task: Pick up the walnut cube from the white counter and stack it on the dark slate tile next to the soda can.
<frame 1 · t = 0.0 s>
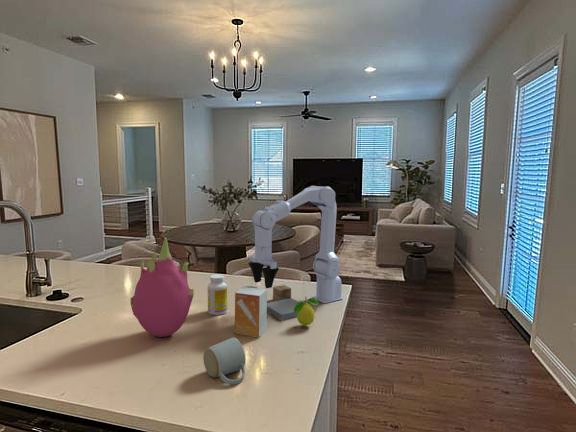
hand: (263, 284, 130), 10 cm above the worktop, tool pointing down, fingers open, 7 cm apart
supplement bottle: (217, 312, 131), on the worktop
soda can: (249, 325, 120), on the worktop, touching small box
slate tile: (286, 311, 133), on the worktop
ceramic mug: (227, 375, 91), on the worktop
small box: (250, 332, 115), on the worktop, touching soda can
pink dragon fruit: (163, 335, 112), on the worktop
lemon: (305, 326, 120), on the worktop
walnut block: (281, 300, 145), on the worktop
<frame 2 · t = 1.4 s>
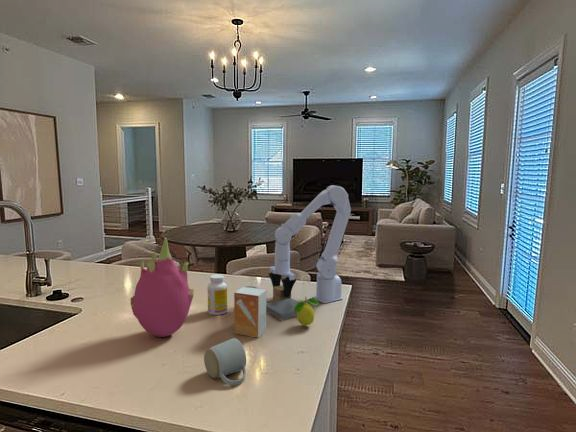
hand: (281, 293, 144), 2 cm above the worktop, tool pointing down, fingers open, 7 cm apart
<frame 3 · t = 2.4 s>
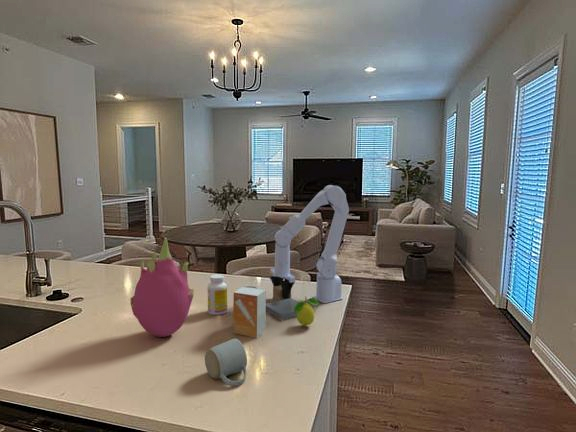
hand: (281, 296, 145), 1 cm above the worktop, tool pointing down, fingers closed on walnut block, 5 cm apart
walnut block: (281, 299, 145), on the worktop, touching gripper
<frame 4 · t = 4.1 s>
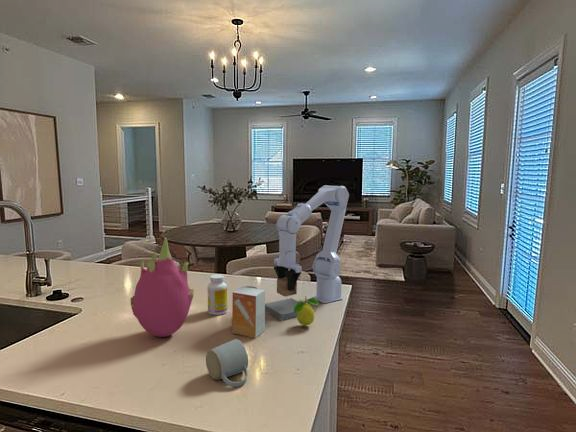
hand: (287, 288, 132), 8 cm above the worktop, tool pointing down, fingers closed on walnut block, 5 cm apart
walnut block: (286, 293, 132), point 7 cm above the worktop, touching gripper
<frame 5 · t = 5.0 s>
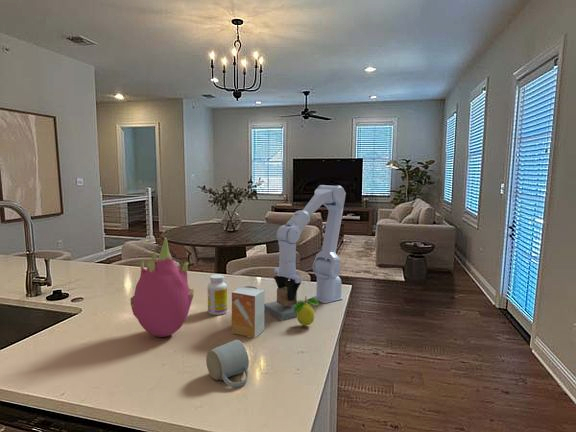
hand: (287, 297, 132), 5 cm above the worktop, tool pointing down, fingers closed on walnut block, 5 cm apart
walnut block: (286, 303, 133), point 3 cm above the worktop, touching gripper
when the fingers open (5 cm above the worktop, at t = 5.6 s): walnut block drops 1 cm, resting on slate tile.
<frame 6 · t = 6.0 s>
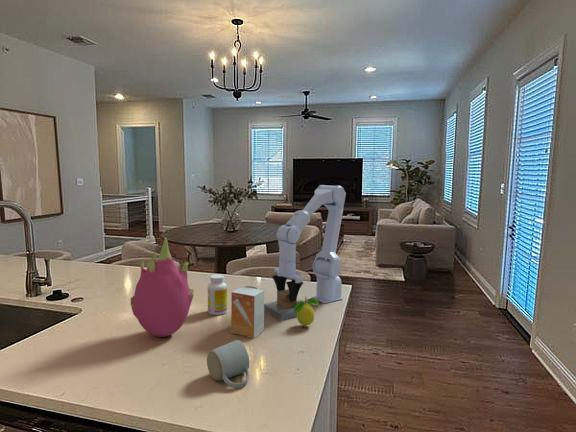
hand: (287, 297, 132), 5 cm above the worktop, tool pointing down, fingers open, 7 cm apart
walnut block: (286, 305, 133), point 2 cm above the worktop, touching slate tile
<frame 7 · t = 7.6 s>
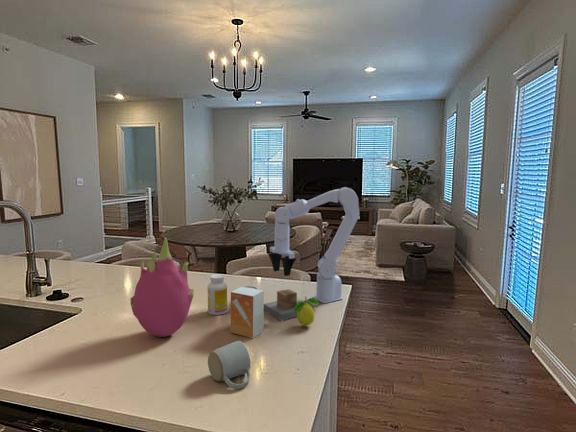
hand: (281, 273, 146), 10 cm above the worktop, tool pointing down, fingers open, 7 cm apart
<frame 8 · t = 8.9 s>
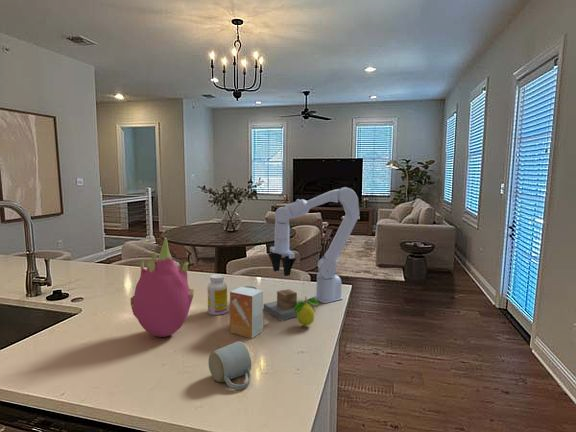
hand: (281, 273, 146), 10 cm above the worktop, tool pointing down, fingers open, 7 cm apart
at the end: walnut block inside the target area on the slate tile (0.1 cm from its centre), point 2.0 cm above the slate tile's base; walnut block tilted 0°; the gripper is holding nothing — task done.
